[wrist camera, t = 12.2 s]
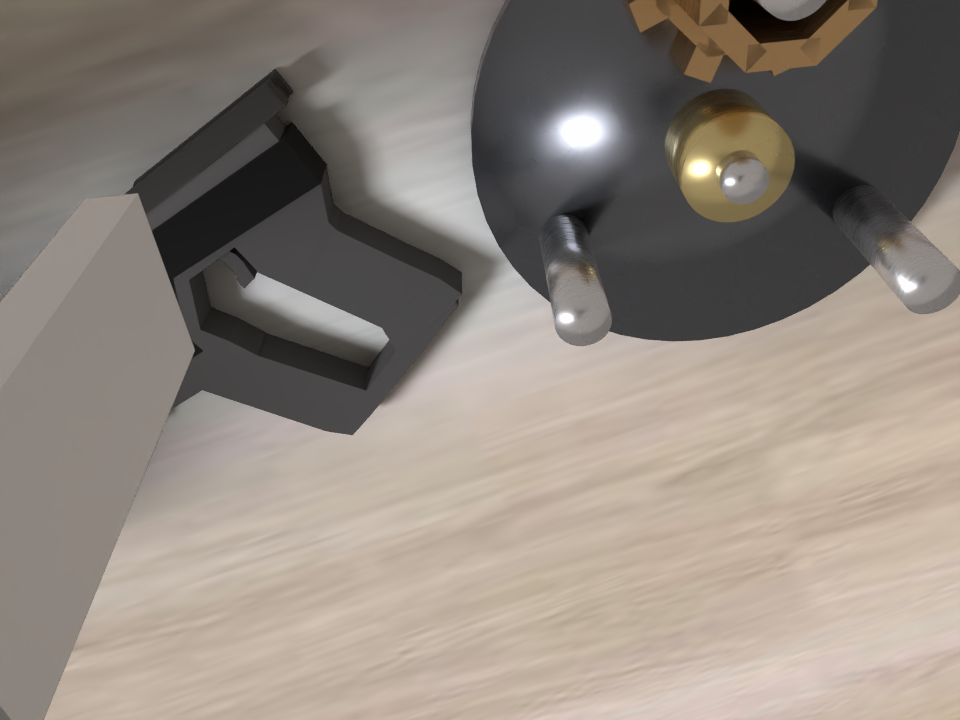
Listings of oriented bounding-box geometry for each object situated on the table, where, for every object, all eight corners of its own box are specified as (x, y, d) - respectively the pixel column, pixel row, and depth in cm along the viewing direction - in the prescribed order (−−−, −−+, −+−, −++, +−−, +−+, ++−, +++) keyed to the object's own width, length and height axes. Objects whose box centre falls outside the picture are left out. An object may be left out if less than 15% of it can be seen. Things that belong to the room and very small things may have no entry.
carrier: (492, 340, 38) (499, 455, 32) (443, -119, 27) (440, -83, 21) (895, 303, 38) (986, 412, 31) (1016, -184, 27) (1196, -168, 20)
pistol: (506, 349, 37) (281, 72, 29) (117, 565, 45) (-139, 392, 37) (504, 321, 38) (291, 54, 31) (130, 534, 46) (-112, 362, 39)
